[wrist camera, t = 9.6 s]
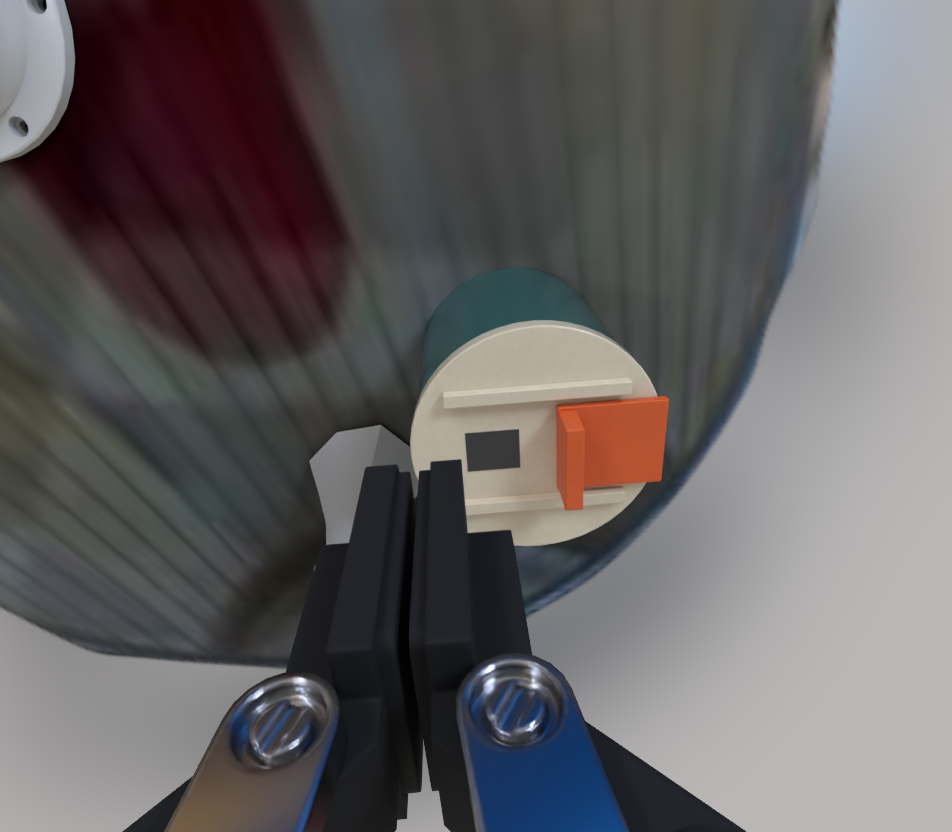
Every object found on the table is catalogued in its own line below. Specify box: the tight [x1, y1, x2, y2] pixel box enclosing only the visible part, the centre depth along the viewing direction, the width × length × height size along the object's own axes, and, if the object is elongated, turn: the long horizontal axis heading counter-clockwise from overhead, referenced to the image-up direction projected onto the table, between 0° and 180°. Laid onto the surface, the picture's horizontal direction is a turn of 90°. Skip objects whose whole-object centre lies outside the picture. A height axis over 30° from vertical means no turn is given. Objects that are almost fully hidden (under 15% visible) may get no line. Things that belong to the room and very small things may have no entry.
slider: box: [557, 396, 669, 511], centre depth 26 cm, size 5×4×2 cm
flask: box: [309, 425, 418, 569], centre depth 35 cm, size 7×7×10 cm
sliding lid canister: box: [410, 268, 658, 546], centre depth 31 cm, size 11×11×11 cm
